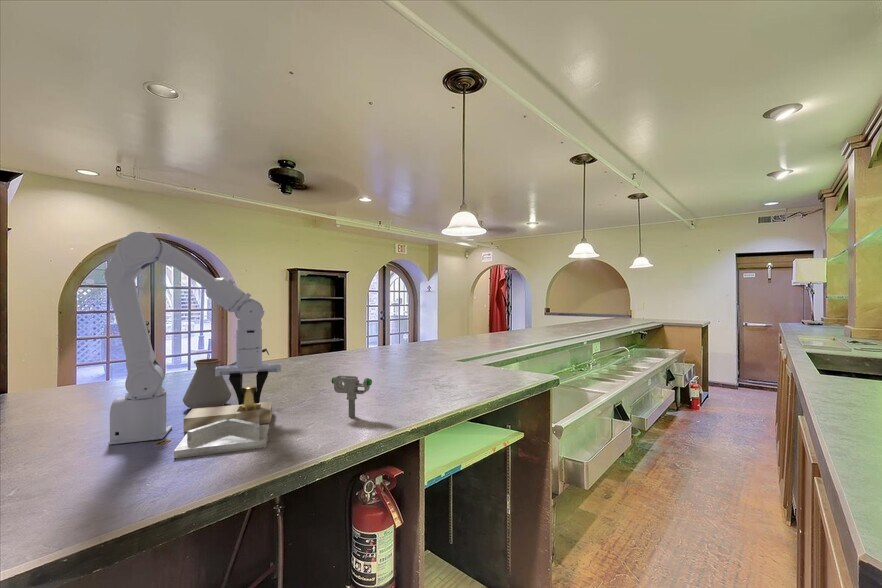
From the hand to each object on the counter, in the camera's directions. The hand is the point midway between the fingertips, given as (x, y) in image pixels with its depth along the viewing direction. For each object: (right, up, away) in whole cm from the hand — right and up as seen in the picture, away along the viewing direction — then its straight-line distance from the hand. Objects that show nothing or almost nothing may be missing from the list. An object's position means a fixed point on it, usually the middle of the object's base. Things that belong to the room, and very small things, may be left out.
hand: (249, 403), depth 97 cm
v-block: (+2, -4, -15) cm, 16 cm away
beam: (-4, -4, -1) cm, 6 cm away
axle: (0, -4, 0) cm, 4 cm away
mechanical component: (+25, -4, +3) cm, 25 cm away
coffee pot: (-12, -4, +13) cm, 19 cm away
